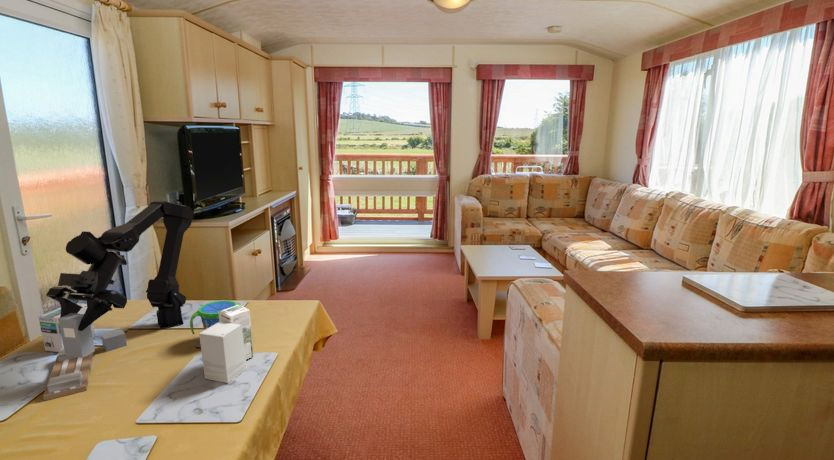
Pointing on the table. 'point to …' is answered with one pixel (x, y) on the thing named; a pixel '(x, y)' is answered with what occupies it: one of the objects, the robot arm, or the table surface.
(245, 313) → the syrup box
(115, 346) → the block
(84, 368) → the rail board
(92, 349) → the block
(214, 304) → the snack cup
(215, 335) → the supplement box
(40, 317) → the light bulb box
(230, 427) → the table surface
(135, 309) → the table surface
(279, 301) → the table surface
